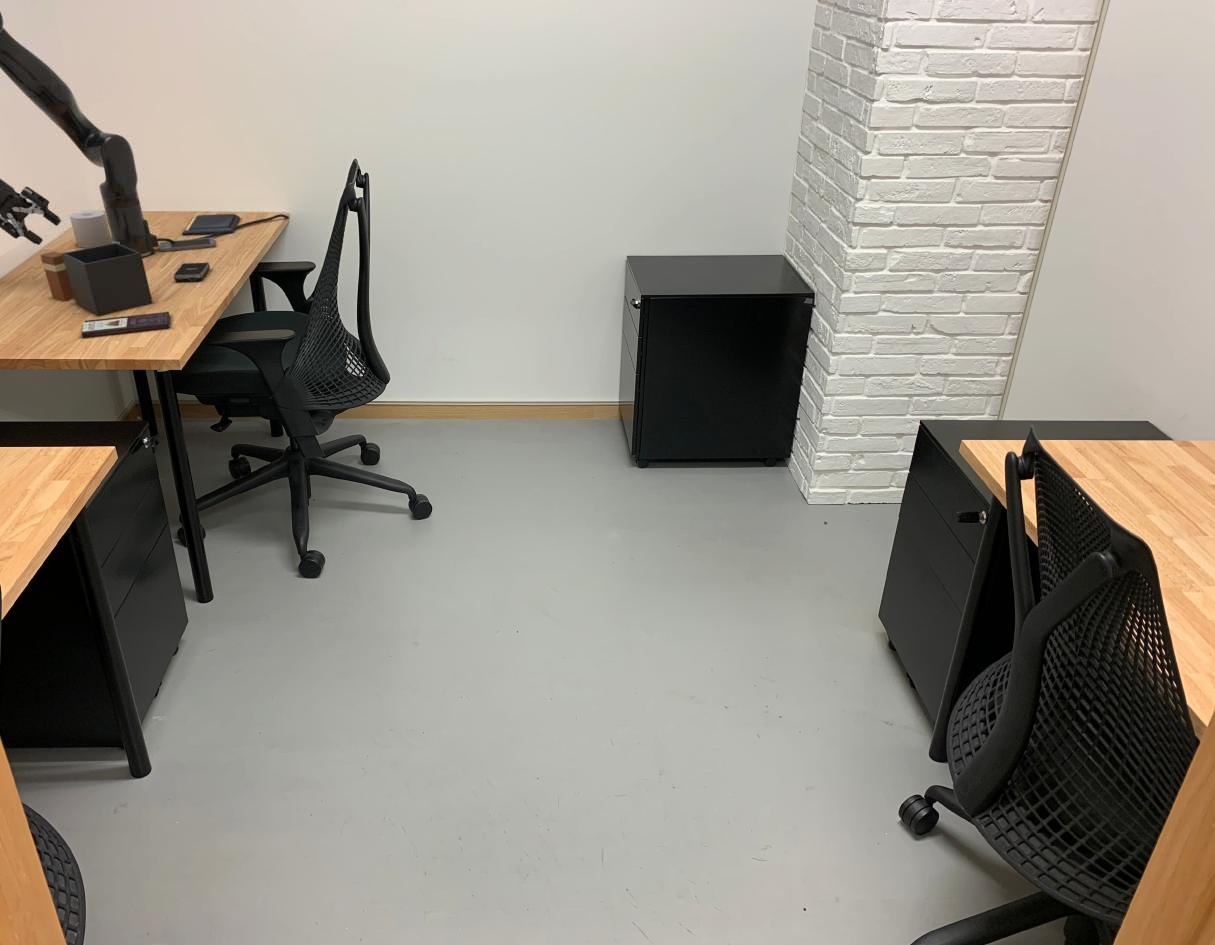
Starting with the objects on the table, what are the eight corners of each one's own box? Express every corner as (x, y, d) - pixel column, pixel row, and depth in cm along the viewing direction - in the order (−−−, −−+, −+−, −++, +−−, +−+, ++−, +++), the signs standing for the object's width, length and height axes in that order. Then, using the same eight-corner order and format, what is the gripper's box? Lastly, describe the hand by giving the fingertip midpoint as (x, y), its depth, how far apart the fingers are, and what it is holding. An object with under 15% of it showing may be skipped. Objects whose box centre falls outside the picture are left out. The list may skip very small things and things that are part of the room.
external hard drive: (174, 282, 244) (172, 275, 243) (184, 270, 253) (182, 263, 252) (202, 281, 245) (200, 274, 244) (211, 269, 254) (209, 262, 253)
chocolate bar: (168, 324, 214) (81, 333, 208) (169, 327, 214) (82, 337, 208) (168, 311, 221) (84, 320, 215) (169, 315, 221) (85, 324, 215)
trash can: (129, 291, 237) (117, 242, 231) (152, 303, 229) (140, 253, 223) (75, 303, 228) (61, 253, 222) (98, 316, 221) (84, 264, 215)
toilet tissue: (106, 235, 283) (98, 206, 279) (114, 245, 274) (107, 216, 270) (73, 239, 279) (65, 210, 275) (80, 249, 269) (72, 220, 265)
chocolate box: (52, 298, 232) (39, 255, 226) (65, 294, 235) (53, 251, 229) (64, 301, 230) (52, 257, 225) (77, 296, 233) (65, 253, 227)
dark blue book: (231, 227, 286) (179, 229, 283) (232, 233, 286) (180, 235, 284) (240, 212, 303) (191, 213, 300) (242, 217, 304) (193, 219, 301)
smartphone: (214, 239, 280) (213, 237, 280) (215, 246, 273) (215, 244, 273) (160, 244, 275) (159, 242, 274) (160, 251, 268) (160, 249, 268)
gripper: (-36, 212, 226) (29, 256, 235) (-6, 177, 220) (60, 224, 229) (-22, 197, 231) (40, 241, 241) (7, 162, 225) (70, 209, 235)
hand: (50, 233), depth 235 cm, fingers open, 8 cm apart
